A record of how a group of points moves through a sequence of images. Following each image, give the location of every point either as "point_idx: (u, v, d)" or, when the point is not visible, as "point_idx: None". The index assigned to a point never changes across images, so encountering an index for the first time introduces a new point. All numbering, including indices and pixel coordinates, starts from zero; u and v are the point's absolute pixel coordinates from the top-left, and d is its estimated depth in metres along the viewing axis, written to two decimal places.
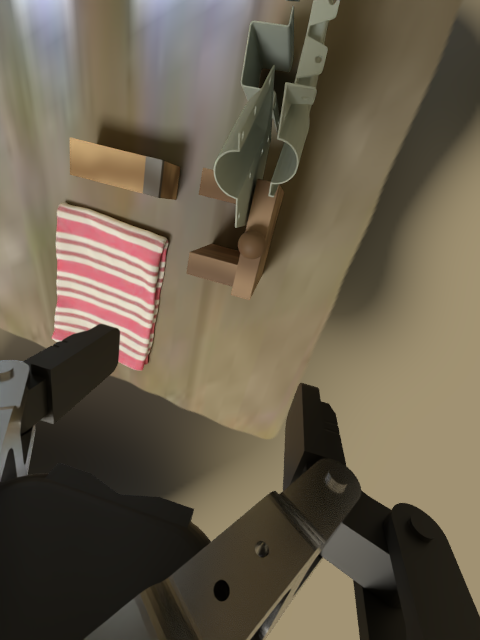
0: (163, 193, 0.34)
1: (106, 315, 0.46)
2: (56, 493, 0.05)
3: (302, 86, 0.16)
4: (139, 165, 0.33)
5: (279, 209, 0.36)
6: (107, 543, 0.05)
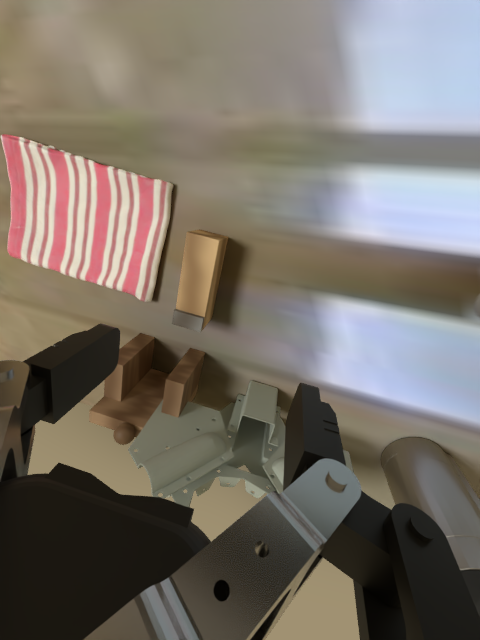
0: None
1: (59, 215, 0.39)
2: (56, 493, 0.05)
3: None
4: (198, 307, 0.36)
5: None
6: (107, 543, 0.05)
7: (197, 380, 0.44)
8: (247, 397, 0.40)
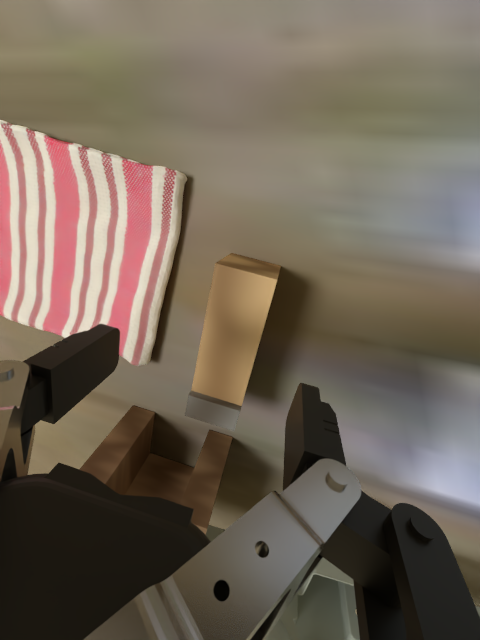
0: None
1: None
2: (56, 493, 0.05)
3: None
4: (230, 391, 0.21)
5: None
6: (107, 543, 0.05)
7: None
8: None
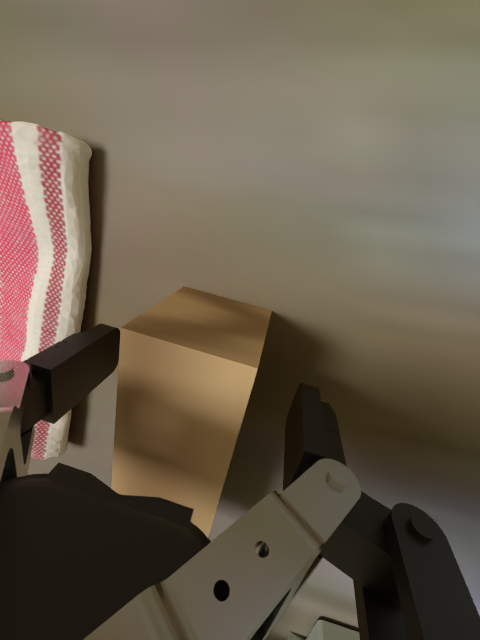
0: None
1: None
2: (56, 493, 0.05)
3: None
4: None
5: None
6: (107, 543, 0.05)
7: None
8: None
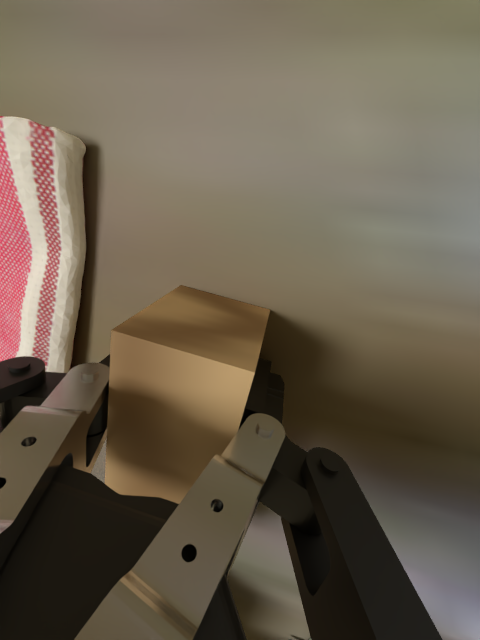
0: None
1: None
2: (56, 493, 0.05)
3: None
4: None
5: None
6: (107, 543, 0.05)
7: None
8: None
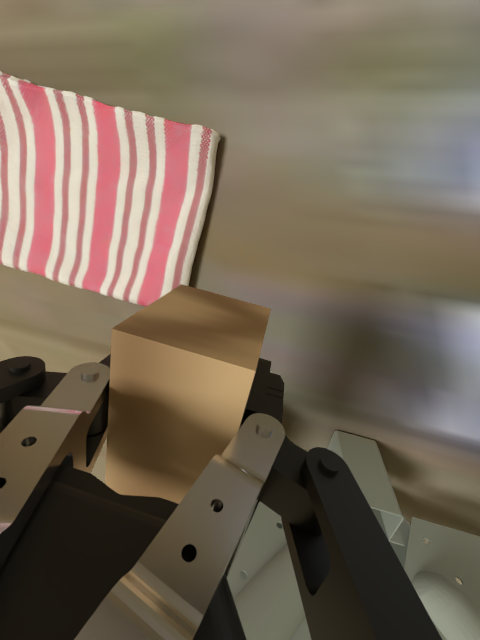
0: None
1: (42, 191, 0.26)
2: (56, 493, 0.05)
3: None
4: None
5: None
6: (107, 543, 0.05)
7: None
8: None
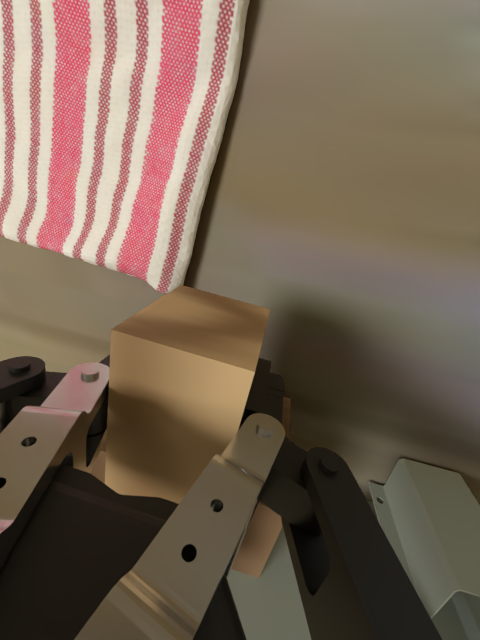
0: None
1: None
2: (56, 493, 0.05)
3: None
4: None
5: None
6: (107, 543, 0.05)
7: None
8: (426, 514, 0.17)
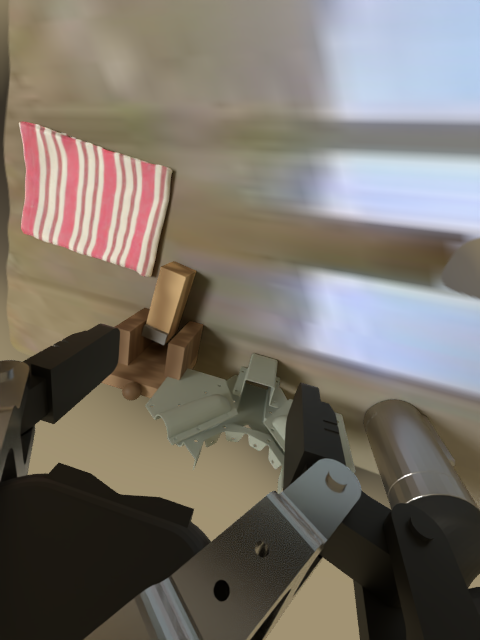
0: None
1: (69, 196, 0.44)
2: (56, 493, 0.05)
3: (194, 465, 0.33)
4: (164, 325, 0.44)
5: None
6: (107, 543, 0.05)
7: (196, 350, 0.49)
8: (249, 366, 0.44)
